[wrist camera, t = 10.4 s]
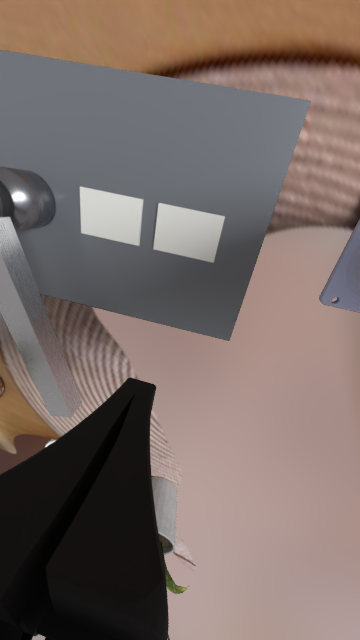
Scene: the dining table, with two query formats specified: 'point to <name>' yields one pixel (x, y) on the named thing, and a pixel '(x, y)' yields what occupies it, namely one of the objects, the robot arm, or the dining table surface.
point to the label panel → (146, 186)
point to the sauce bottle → (1, 388)
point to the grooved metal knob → (28, 198)
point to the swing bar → (32, 321)
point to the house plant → (166, 522)
